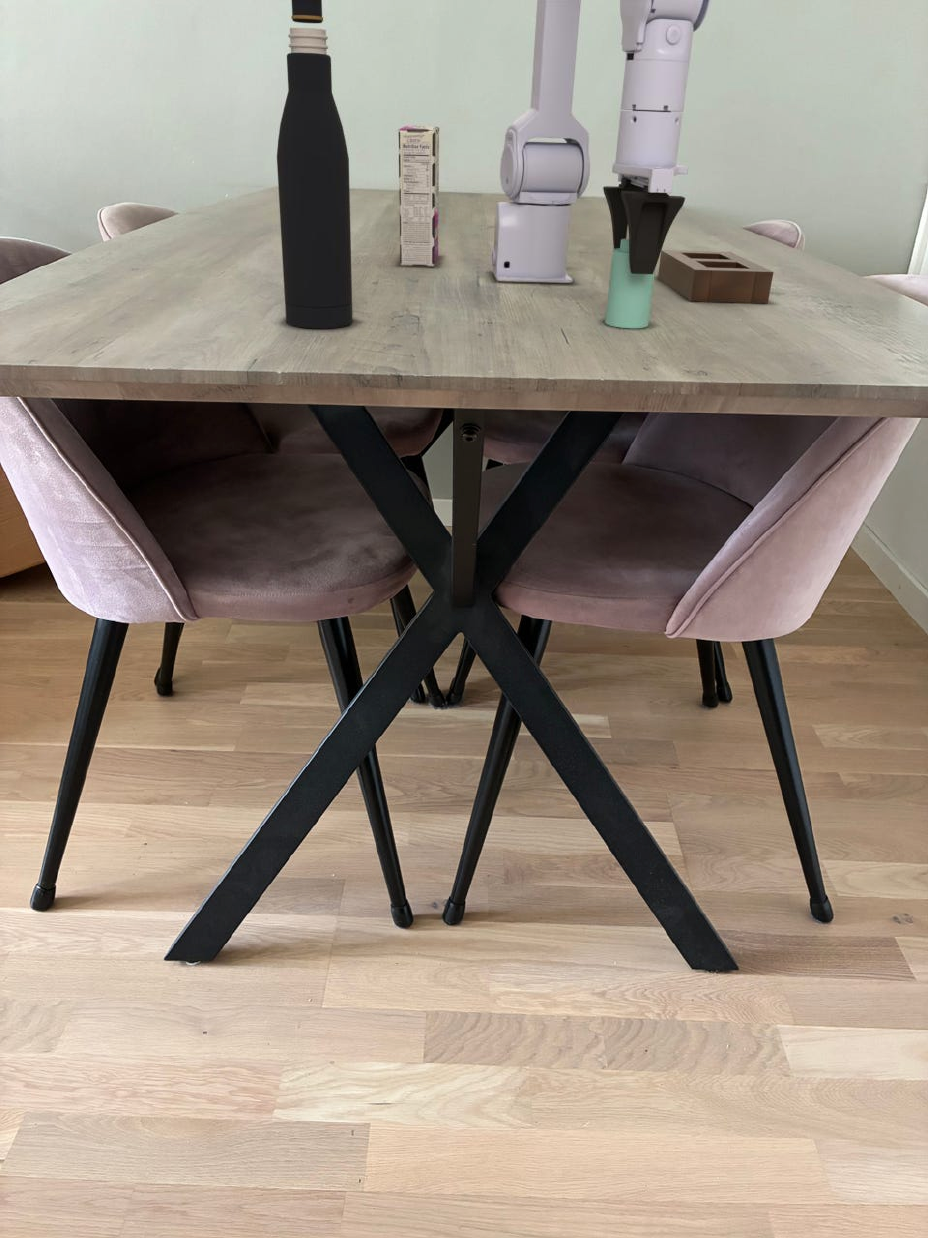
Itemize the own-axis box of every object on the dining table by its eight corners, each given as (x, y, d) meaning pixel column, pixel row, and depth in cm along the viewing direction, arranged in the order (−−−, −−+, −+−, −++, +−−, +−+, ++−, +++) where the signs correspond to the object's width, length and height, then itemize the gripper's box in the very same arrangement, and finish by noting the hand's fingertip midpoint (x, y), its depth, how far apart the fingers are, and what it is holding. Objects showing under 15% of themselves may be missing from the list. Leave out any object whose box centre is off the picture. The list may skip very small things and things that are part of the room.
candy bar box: (403, 254, 132) (404, 124, 124) (438, 255, 132) (441, 126, 124) (397, 266, 122) (397, 126, 114) (435, 267, 122) (437, 127, 114)
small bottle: (609, 327, 92) (621, 219, 87) (601, 318, 96) (612, 214, 91) (652, 328, 93) (666, 221, 88) (642, 319, 96) (656, 216, 91)
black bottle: (340, 331, 87) (329, -63, 72) (276, 325, 88) (251, -63, 73) (360, 318, 92) (353, -50, 77) (299, 313, 93) (281, -51, 78)
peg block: (690, 301, 107) (695, 269, 105) (657, 277, 121) (661, 249, 120) (767, 303, 108) (773, 271, 106) (726, 279, 122) (730, 251, 120)
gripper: (716, 113, 79) (692, 280, 85) (674, 112, 92) (656, 257, 98) (635, 110, 78) (617, 278, 85) (604, 109, 91) (590, 256, 98)
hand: (633, 267), depth 92 cm, fingers open, 7 cm apart
